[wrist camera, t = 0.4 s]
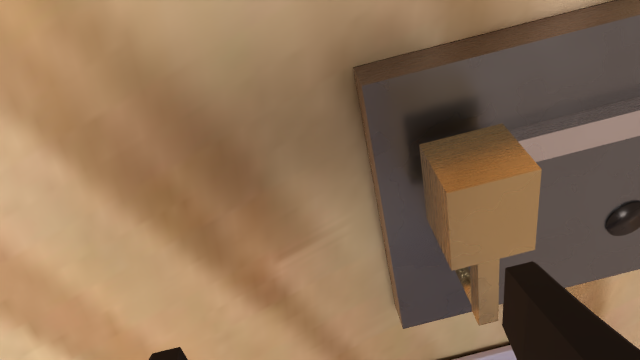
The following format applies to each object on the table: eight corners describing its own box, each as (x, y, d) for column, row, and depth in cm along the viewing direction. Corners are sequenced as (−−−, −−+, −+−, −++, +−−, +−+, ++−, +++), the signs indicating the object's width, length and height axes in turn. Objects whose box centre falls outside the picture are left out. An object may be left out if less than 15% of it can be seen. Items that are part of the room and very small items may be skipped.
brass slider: (493, 265, 23) (528, 326, 21) (429, 281, 23) (456, 344, 21) (495, 114, 18) (541, 169, 16) (414, 135, 18) (446, 193, 16)
